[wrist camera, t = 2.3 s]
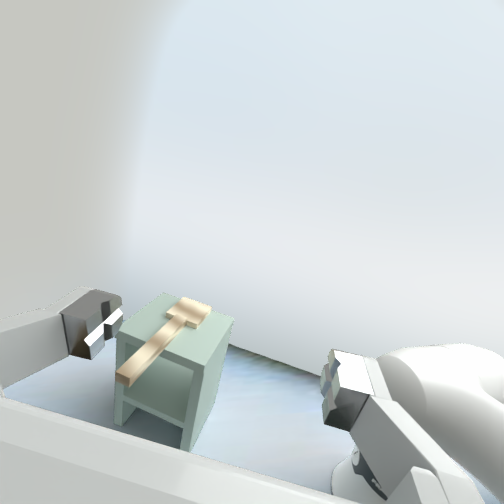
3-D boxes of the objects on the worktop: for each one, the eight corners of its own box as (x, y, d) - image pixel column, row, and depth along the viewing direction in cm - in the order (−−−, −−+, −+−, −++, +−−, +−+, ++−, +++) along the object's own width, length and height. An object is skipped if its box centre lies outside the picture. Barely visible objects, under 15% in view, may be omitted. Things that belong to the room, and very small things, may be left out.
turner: (183, 301, 58) (184, 294, 58) (211, 311, 57) (212, 304, 56) (101, 375, 37) (102, 365, 36) (143, 393, 36) (143, 384, 35)
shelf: (215, 400, 65) (234, 318, 56) (185, 461, 52) (204, 365, 43) (154, 374, 69) (163, 292, 60) (111, 425, 55) (114, 328, 46)
